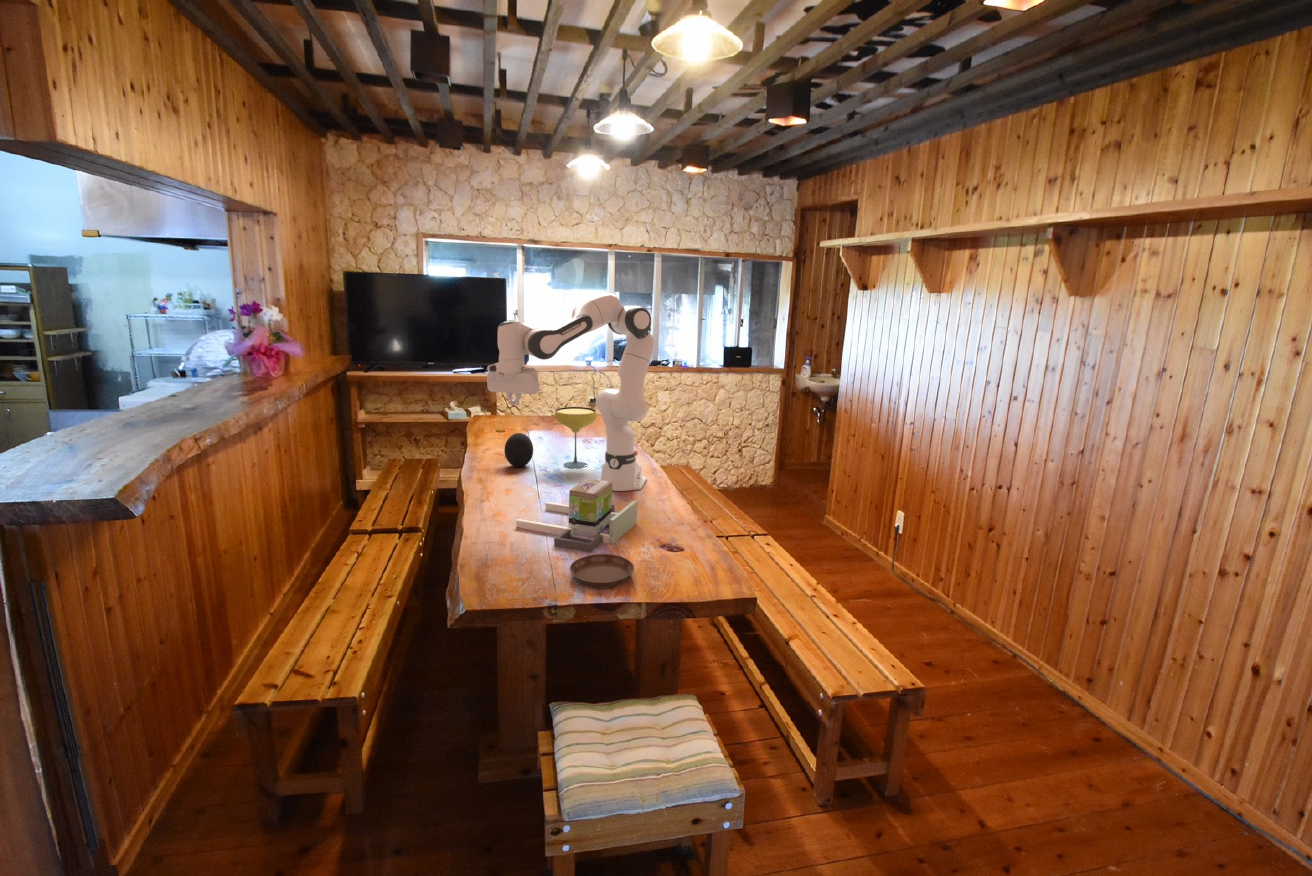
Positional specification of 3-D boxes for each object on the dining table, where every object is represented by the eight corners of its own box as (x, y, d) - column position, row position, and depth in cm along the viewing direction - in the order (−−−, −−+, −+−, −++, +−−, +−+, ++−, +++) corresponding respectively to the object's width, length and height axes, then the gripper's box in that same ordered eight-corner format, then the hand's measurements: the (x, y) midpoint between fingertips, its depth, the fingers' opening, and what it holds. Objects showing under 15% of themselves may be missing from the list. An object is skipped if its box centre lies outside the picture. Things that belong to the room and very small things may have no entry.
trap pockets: (583, 506, 232) (583, 500, 231) (635, 514, 225) (635, 508, 225) (531, 541, 198) (531, 534, 198) (590, 552, 192) (590, 544, 191)
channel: (547, 508, 229) (546, 487, 227) (636, 523, 217) (637, 500, 216) (516, 527, 210) (515, 504, 208) (612, 544, 199) (613, 520, 197)
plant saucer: (609, 597, 165) (609, 587, 164) (556, 580, 174) (556, 570, 173) (645, 573, 180) (646, 563, 179) (595, 558, 188) (595, 549, 188)
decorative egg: (499, 468, 276) (498, 434, 273) (513, 461, 288) (513, 429, 284) (525, 471, 273) (524, 437, 269) (538, 464, 284) (538, 431, 281)
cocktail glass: (602, 463, 290) (603, 409, 284) (582, 473, 274) (582, 416, 268) (569, 458, 297) (569, 405, 291) (547, 467, 281) (546, 411, 275)
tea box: (596, 537, 204) (597, 493, 201) (567, 533, 206) (567, 489, 203) (612, 521, 218) (612, 480, 215) (584, 518, 221) (585, 477, 217)
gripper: (542, 366, 225) (544, 405, 228) (493, 364, 232) (496, 401, 236) (532, 369, 219) (534, 408, 222) (483, 366, 227) (486, 404, 230)
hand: (514, 405), depth 229 cm, fingers closed
